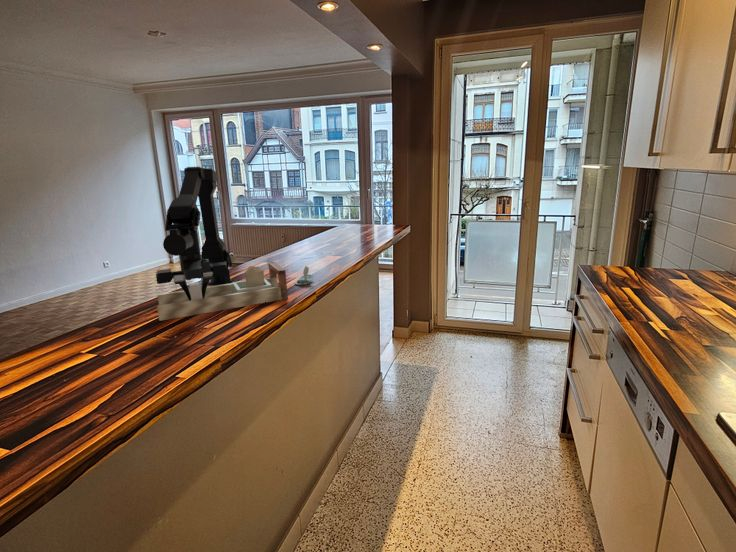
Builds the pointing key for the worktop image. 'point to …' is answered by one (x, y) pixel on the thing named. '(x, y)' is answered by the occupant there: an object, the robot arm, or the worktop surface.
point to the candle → (254, 276)
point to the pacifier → (304, 277)
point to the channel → (222, 297)
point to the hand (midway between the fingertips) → (197, 300)
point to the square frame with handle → (237, 288)
